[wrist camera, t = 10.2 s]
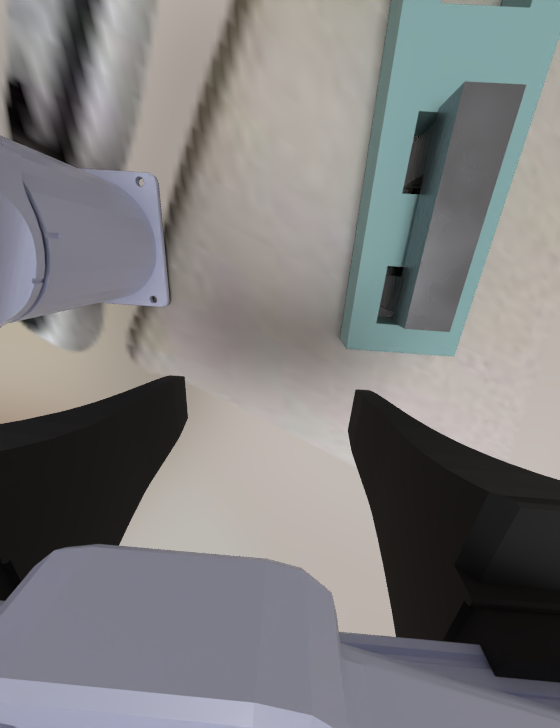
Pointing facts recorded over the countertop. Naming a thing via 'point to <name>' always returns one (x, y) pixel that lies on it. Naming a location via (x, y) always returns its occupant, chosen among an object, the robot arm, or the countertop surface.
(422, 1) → the teal slotted board
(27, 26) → the countertop surface
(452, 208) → the grey arch block
